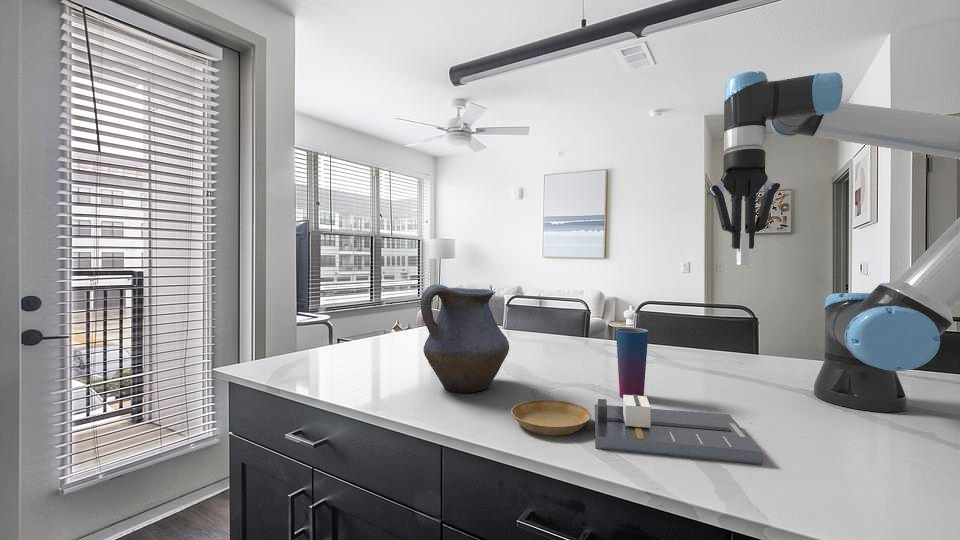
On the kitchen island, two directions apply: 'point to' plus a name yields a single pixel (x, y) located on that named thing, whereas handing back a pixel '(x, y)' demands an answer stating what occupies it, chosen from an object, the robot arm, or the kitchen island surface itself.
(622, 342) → the cup
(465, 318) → the pitcher
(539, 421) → the plant saucer
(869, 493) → the kitchen island surface
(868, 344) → the robot arm
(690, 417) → the console
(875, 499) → the kitchen island surface
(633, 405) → the fader
